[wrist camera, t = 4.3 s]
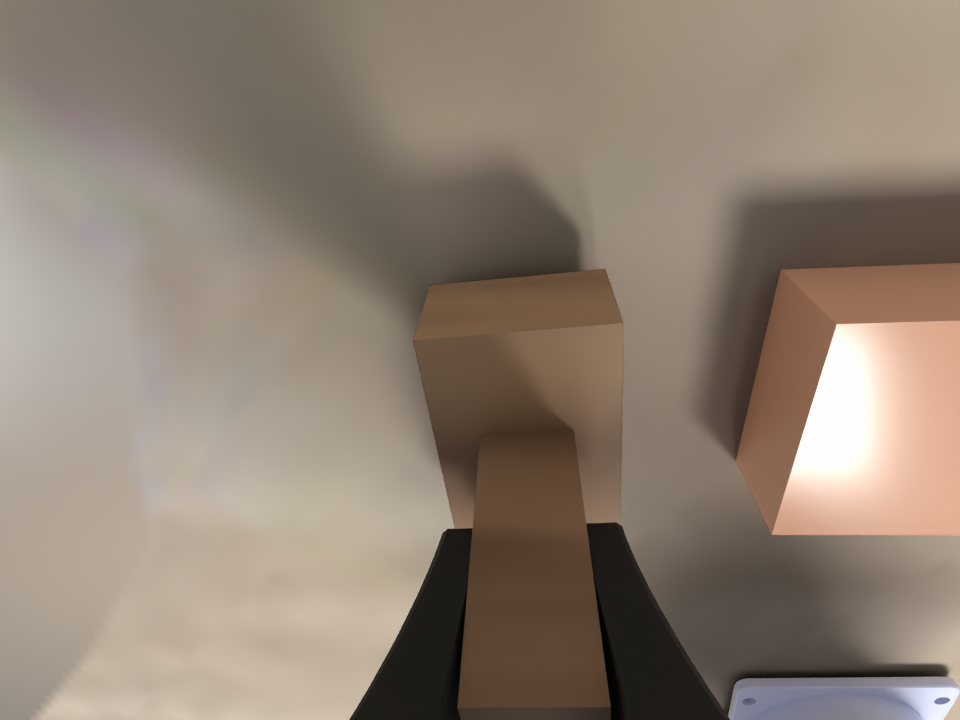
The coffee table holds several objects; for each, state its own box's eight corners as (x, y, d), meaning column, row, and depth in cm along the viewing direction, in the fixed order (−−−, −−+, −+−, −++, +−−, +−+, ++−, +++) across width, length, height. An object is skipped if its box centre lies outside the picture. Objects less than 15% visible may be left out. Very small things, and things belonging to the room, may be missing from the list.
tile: (948, 452, 16) (1030, 535, 13) (732, 454, 16) (771, 534, 14) (1046, 254, 13) (1177, 314, 10) (776, 264, 13) (836, 324, 11)
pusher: (606, 514, 17) (667, 860, 10) (475, 520, 17) (448, 855, 10) (605, 268, 12) (710, 583, 6) (430, 285, 13) (334, 594, 6)
